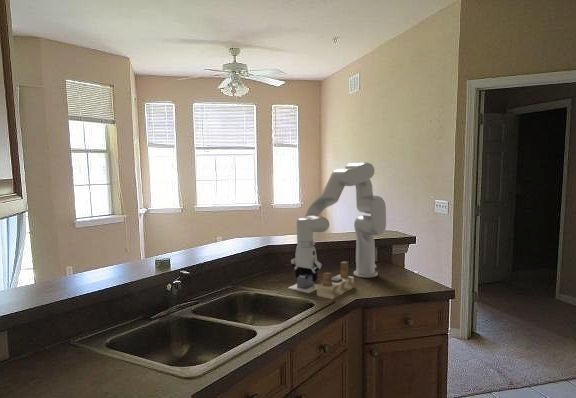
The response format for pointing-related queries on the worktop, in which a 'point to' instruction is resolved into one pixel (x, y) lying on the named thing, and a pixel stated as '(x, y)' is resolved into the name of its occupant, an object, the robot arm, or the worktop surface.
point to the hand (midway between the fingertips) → (306, 279)
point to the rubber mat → (304, 289)
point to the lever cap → (305, 281)
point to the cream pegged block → (335, 283)
